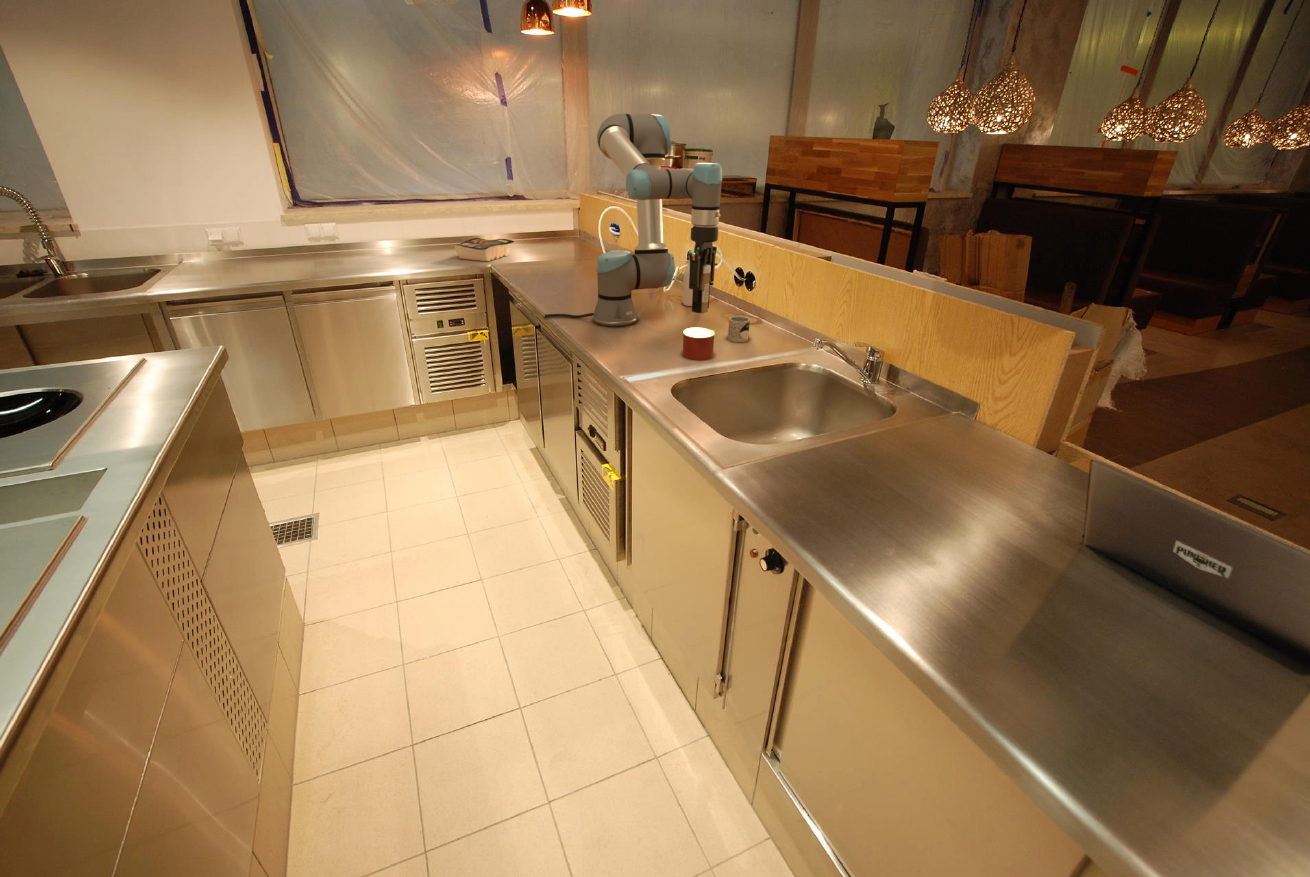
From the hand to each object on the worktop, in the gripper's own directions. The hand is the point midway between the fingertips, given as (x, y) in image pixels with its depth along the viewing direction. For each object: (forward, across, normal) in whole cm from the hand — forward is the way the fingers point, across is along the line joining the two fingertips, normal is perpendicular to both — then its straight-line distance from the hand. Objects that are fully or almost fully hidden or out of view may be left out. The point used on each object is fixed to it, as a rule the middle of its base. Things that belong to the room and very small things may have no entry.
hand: (700, 309), depth 167 cm
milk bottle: (+14, +50, +26) cm, 58 cm away
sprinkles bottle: (+1, 0, 0) cm, 1 cm away
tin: (+14, 0, 0) cm, 14 cm away
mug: (+14, +22, -5) cm, 27 cm away
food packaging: (+14, +73, +157) cm, 174 cm away
